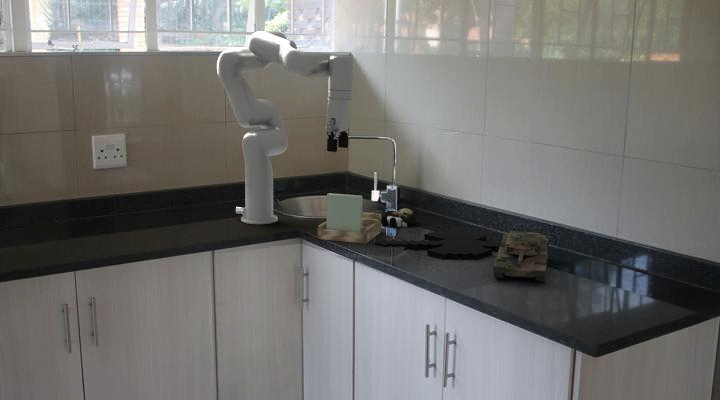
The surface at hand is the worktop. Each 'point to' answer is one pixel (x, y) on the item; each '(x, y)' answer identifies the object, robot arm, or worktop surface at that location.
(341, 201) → the board
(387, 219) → the toy
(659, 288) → the worktop surface
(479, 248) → the decorative axe
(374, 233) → the rack
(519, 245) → the toy
